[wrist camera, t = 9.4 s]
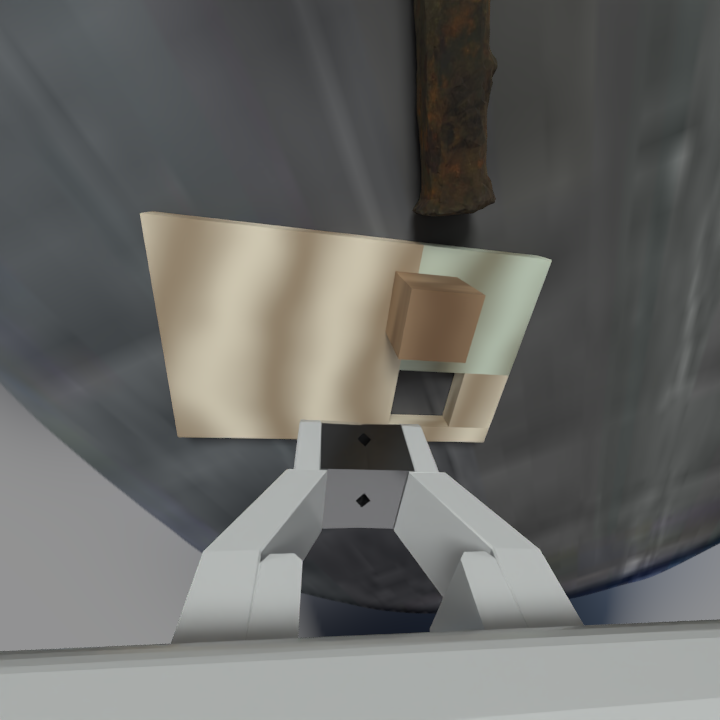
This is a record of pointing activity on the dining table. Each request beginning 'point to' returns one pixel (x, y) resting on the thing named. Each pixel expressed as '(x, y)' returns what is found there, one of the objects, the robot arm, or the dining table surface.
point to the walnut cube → (432, 317)
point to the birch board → (318, 326)
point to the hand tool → (453, 104)
